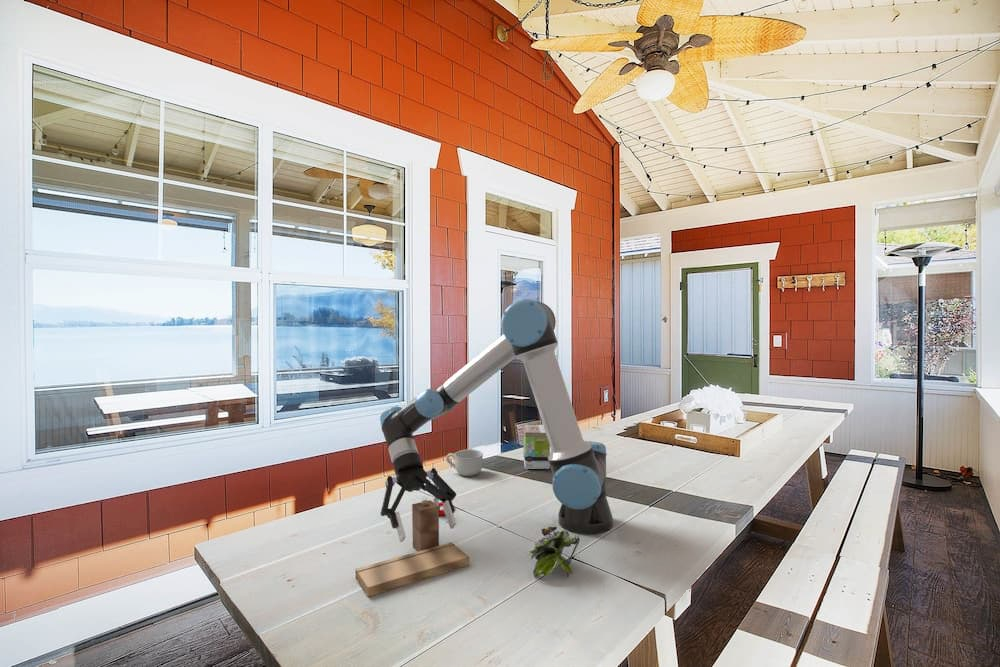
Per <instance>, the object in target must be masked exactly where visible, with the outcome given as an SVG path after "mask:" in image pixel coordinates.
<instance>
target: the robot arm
mask: <svg viewBox="0 0 1000 667" xmlns="http://www.w3.org/2000/svg"><path fill="white" fill-rule="evenodd" d="M555 316H556V315H555V313H554V312H553V309H551V307H550V306H549V305H547V304H546V303H544V302H541V301H538V300H533V299H527V298H525V299H521V300H517V301H514V302H512V303H511V304H509V305H508V306H507V308H506V309H505V310H504V311H503V314H502V317H501V322H500V328H501V332H502V335H499V337H498V338H497V339H496V340H494V341H493V342H492V343H490V345H489V346H487V347H486V348H485V349H484V350H482V351H481V352H480V353H479V354H477V355H476V356H475V357H473V359H471V360H470V361H469V362H468V363H466V364H465V365H464V366H463V367H462V368H461V369H459V370H458V371H457V372H455V373H454V374H453V375H452V376H451V377H450V378H449V379H447V380H446V381H445V382H444V383H443V384H441V385H440V386H439V387H437V388H436V389H432V388H427V389H425V390H423V391H422V392H419V393H418V394H417V395H416V396H415V397H414V398H413V399H412V400H410V401H409V402H408V403H407V404H406V405H404V406H403V407H401V406H392V407H390V408H388V409H385V410H383V412H382V413H381V414H380V416H379V421H380V426H381V431H382V433H383V436H384V439H385V442H386V445H387V448H388V453H389V457H390V460H391V463H392V467H393V471H394V474H395V476H396V477H392V476H391V475H388V476H387V478H386V480H385V493H384V497H383V501H382V507H381V509H380V510H381V511H380V516H382V517H385V516H387V518H388V519H389V521H390V524H391V528H392V529H393V530H394V529H396V533H397V536H398V539H399V542H400V543H402V542H404V541H405V539H406V537H407V536H406V535H407V534H406V531H405V529H404V526H403V521H402V518H401V515H400V511H399V510H398V511H396V510H397V508H398V506H399V504H400V503H401V500H402V498H403V496H404V494H405V492H408V493H412V492H414V491H416V492H418V491H421V490H423V491H424V492H428V493H429V494H430V495H432V496H433V497H434V496H435V497H436V498H437V499H439V502H443V503H444V504H443V506H442V509H444V512H445V515H444V516H445V517H446V520H447V523H448V525H449V529H454V528H455V527H456V525H457V521H456V519H455V515H454V514H455V507H453V506H454V504H453V502H452V501H454V500H455V498H456V496H457V493H456V491H454V489H453V488H452V487H451V486H450V485H449V484H448V483H447V482H446V481H445V480H444V479H443V478H442V477H441V476H440V475H439V474H438V473H439V472H438V473H437V469H436V468H435V467H433V468H431V469H430V470H428V471H426V470H425V469H424V466H423V463H422V459H421V456H420V454H419V450H418V448H417V447H418V446H417V444H416V440H415V437H414V435H413V434H414V433H415V432H416V431H418V430H419V429H420V428H421V427H423V426H424V425H425V424H427V423H428V422H430V421H432V420H434V419H437V418H438V417H441V416H443V415H446V414H449V413H450V412H452V410H454V409H455V408H456V406H457V405H458V404H459V403H461V401H463V400H465V398H467V397H468V396H469V395H470V394H472V393H473V392H474V391H476V390H477V389H478V388H479V387H480V386H482V385H483V384H484V383H485V382H486V381H488V380H489V379H491V377H493V376H494V375H496V374H497V373H498V372H499V371H501V370H502V369H503V368H504V367H505V366H507V365H508V364H509V363H510V362H512V361H513V360H514V359H515V358H516V359H518V360H519V361H521V362H522V363H523V365H524V366H523V367H524V369H525V370H524V371H525V372H526V375H527V378H528V382H529V386H530V388H531V392H532V394H533V397H534V400H535V404H536V406H537V409H538V414H539V416H540V419H541V423H542V425H543V426H544V429H545V432H546V435H547V438H548V441H549V444H550V455H549V457H548V460H549V463H550V470H551V473H552V476H553V477H552V479H551V486H552V490H553V493H554V496H555V498H556V499H557V500H558V501H559V502H560V503H561V504H560V508H559V510H558V516H557V517H558V519H557V520H558V521H559V522H558V524H559V526H560V525H561V527H562V529H565V530H566V529H567V530H566V531H570V532H572V533H576V532H577V533H576V534H584V535H597V534H602V533H605V532H607V531H610V530H611V529H612V528H613V526H614V525H613V524H614V522H613V519H614V517H613V514H612V511H611V508H610V505H609V501H608V498H607V456H608V454H607V450H606V449H607V448H606V445H605V444H604V443H602V442H599V441H598V442H597V441H591V440H584V438H583V435H582V432H581V429H580V426H579V423H578V420H577V416H576V414H575V411H574V407H573V404H572V401H571V398H570V395H569V392H568V389H567V386H566V383H565V380H564V377H563V374H562V370H561V367H560V364H559V361H558V359H557V358H558V357H557V356H556V352H555V351H556V348H557V346H558V344H559V343H558V340H557V335H556V333H555V329H556V322H557V321H556V317H555ZM427 477H428V478H427ZM396 484H397V485H399V487H401V488H400V490H399V492H398V494H397V496H396V498H395V500H394V501H393V503H392V505H391V508H389V506H390V500H391V497H392V491H393V487H395V485H396ZM434 484H435V485H436V486H437V487H436V486H435V485H434Z"/></svg>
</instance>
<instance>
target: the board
mask: <svg viewBox="0 0 1000 667" xmlns="http://www.w3.org/2000/svg"><path fill="white" fill-rule="evenodd" d="M469 565H470V556H469V555H468V554H466V553H465V551H463V550H462V549H461V548H459V547H458V546H457V545H456V544H455V543H453V542H447V543H443V544H439V546H436V547H433V548H429V549H425V550H422V551H418V552H417V551H414V552H412V553H408V554H405V555H400V556H398V557H394V558H390V559H387V560H383V561H379V562H376V563H372V564H369V565H365V566H362V567H361V566H360V567H358V568H355V571H354V572H355V573H354V574H355V579H356V581H357V583H358V584H359V585H360V587H361V588H362V590H363V591H365V592H364V593H365V594H367V595H366V596H367V597H368V598H369V597H372V596H374V595H375V596H376V595H378V594H382V593H385V592H388V591H391V590H394V589H397V588H401V587H404V586H406V585H411V584H413V583H417V582H420V581H423V580H425V579H426V580H427V579H429V578H432V577H436V576H439V575H441V574H445V573H449V572H451V571H455V570H457V569H461V568H464V567H467V566H469Z"/></svg>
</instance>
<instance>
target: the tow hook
mask: <svg viewBox="0 0 1000 667" xmlns="http://www.w3.org/2000/svg"><path fill="white" fill-rule="evenodd" d="M436 471H437V470H436ZM437 473H439V471H437ZM433 485H435V484H434V483H433ZM435 486H436V485H435ZM436 487H437V486H436ZM432 500H433V501H432V502H433V503H435V504H436V505H438V506H439V516H446V515H445V512H444V509H443V508H441V507H443V504H444V503H443V502H442V501H440V500H439V499H437V498H436V497H435V496H433V498H432ZM453 507H454V505H453ZM454 508H455V507H454Z"/></svg>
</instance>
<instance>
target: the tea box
mask: <svg viewBox="0 0 1000 667" xmlns="http://www.w3.org/2000/svg"><path fill="white" fill-rule="evenodd" d="M550 453H551V447H550V444H549V441H548V438H547V435H546V432H545V429H544V426H543V424H524V425H523V464H524V465H523V466H524V469H525V470H528V469H544V468H545V469H549V468H550V469H551V467H550V463H549V460H548V457H549V455H550ZM550 469H549V470H550Z"/></svg>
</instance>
